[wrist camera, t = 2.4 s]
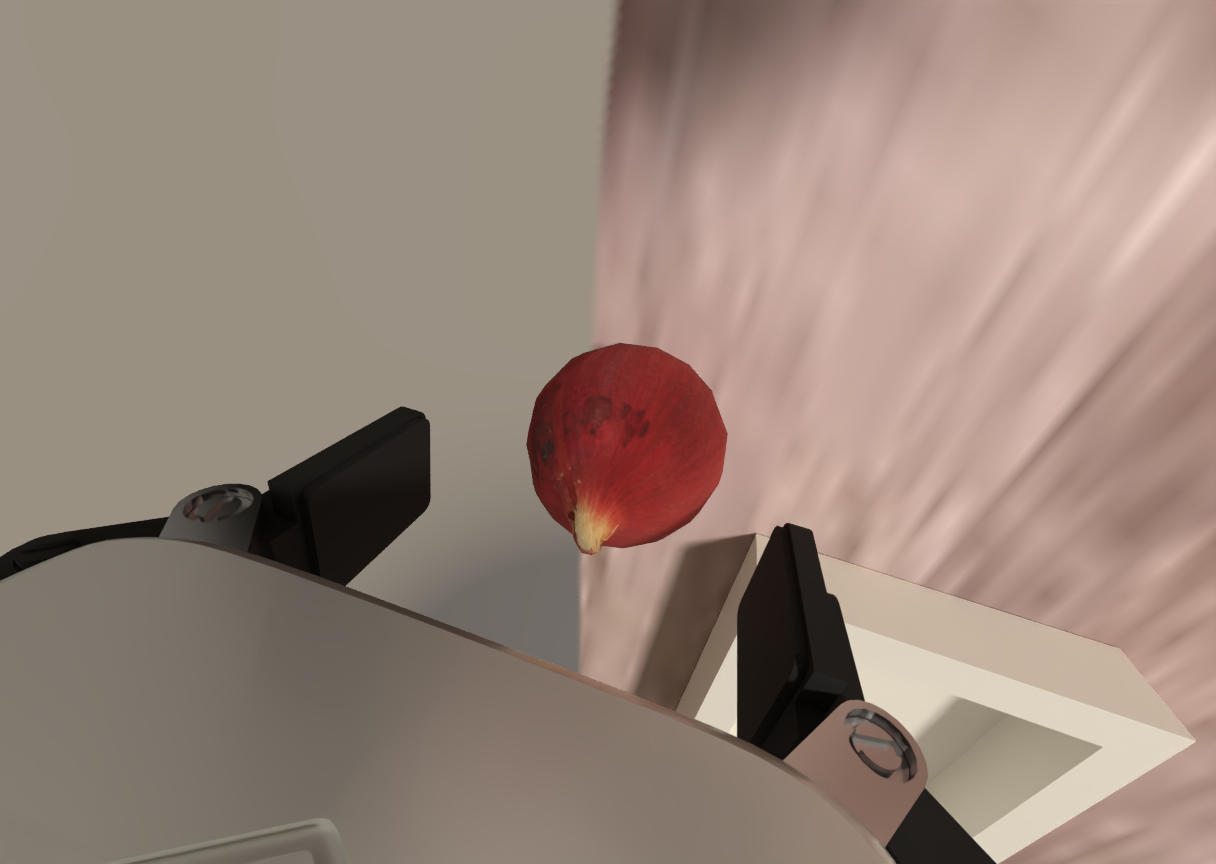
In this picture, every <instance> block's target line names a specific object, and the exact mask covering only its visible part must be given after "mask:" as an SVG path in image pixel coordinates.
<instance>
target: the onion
mask: <svg viewBox="0 0 1216 864" xmlns="http://www.w3.org/2000/svg"><path fill="white" fill-rule="evenodd" d="M727 435H728V434H727V431H726V428H725V426H724V423H723V420H722V418H721V415H720V412H719V410H718V407H717V404H716V402H715V399H714V396H713V393H712V390H711V389H710V388H709V387H708V386H707V385H706V384H705V382H704V381H703V380H702V379H701V378H700V377H699V376H698V374H697V373H696V372H695V371H694V370H693V369H692V368H691V366H690V365H689V364H687V363H685V362H683V361H681V360H679V359H677V358H675V357H674V356H672V355H670V354H668V353H666V352H664V351H662V350H661V349H659V348H655V347H647V346H639V345H631V344H624V343H618V344H614V345H611V346H607V347H604V348H600V349H596V350H593V351H589V352H586V353H583V354H581V355H579V356H577V357H575V358H573V359H571V360H570V361H569V362H568V363H567V364H566V365H565V366H564V367H563V368H562V369H561V370H560V371H559V372H558V373H557V374H556V375H555V376H554V377H553V378H552V379H551V380H550V381H549V382H548V383H547V384H546V385H545V387H544V388H543V390H542V391H541V393H540V394H539V395H538V397H537V399H536V402H535V406H534V410H533V414H532V419H531V423H530V427H529V432H528V439H527V449H528V454H529V459H530V464H531V472H532V479H533V485H534V488H535V491H536V494H537V496H538V497H539V499H540V500H541V502H542V504H543V505H544V507H545V508H546V510H547V511H548V512H549V514H550V515H551V516H552V518H553V519H554V520H555V521H557V522H558V523H559V524H560V525H561V526H563V527H564V528H565V529H566V530H568V531H569V532H570V533H572V534H573V537H574V540H575V542H576V544H577V546H578V548H579V549H580V551H581V553H585V554H590V555H592V554H594V553H597V552H599V551H600V550H601V547H602V546H609V547H618V548H627V547H632V546H637V545H642V544H647V543H652V542H656V541H659V540H661V539H663V538H665V537H667V536H668V535H670V534H671V533H673V532H675V531H676V530H678V529H680V528H681V527H683V526H685V525H686V524H688V523H689V522H691V521H692V520H693V518H694V517H695V516H696V515H697V514H698V513H699V512H700V510H701V509H702V507H703V506H704V504H705V503H706V502H707V500H708V499H709V497H710V496H711V494H712V493H713V491H714V490H715V488H716V487H717V486H718V484H719V481H720V478H721V475H722V472H723V465H724V457H725V450H726V442H727Z"/></svg>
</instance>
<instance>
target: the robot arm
mask: <svg viewBox="0 0 1216 864" xmlns="http://www.w3.org/2000/svg"><path fill="white" fill-rule="evenodd" d="M268 486H269V490H268V491H267V492H265V493H263V494H261V493H260V491H259V490H258V489H257V488H254V487H252V486H250V485H243V484H223V485H218V486H212V487H209V488H205V489H202V490H199V491H197V492H195V493H192V494H190V495H188V496H187V497H185V498H184V499H182V500H181V501H180V502H178V504H177V505H176V506H175V507H174V509H173V510H172V512H171V514H170V516H169V517H164V518H157V519H150V520H144V521H137V522H130V523H124V524H116V525H110V526H103V527H96V528H89V529H83V530H76V531H69V532H63V533H58V534H53V535H47V536H43V537H39V538H36V539H33V540H31V541H29V542H27V543H25V544H23V545H21V546H19V547H16V548H14V549H12V550H10V551H9V552H7V553H6V554H4V555H3V556H1V557H0V864H996V862H995V861H994V860H993V859H992V858H991V857H990V856H989V855H988V854H987V853H986V852H985V851H984V850H983V849H982V848H981V847H980V846H979V844H978V843H977V842H976V841H975V840H974V839H973V838H972V837H971V836H970V835H969V834H968V833H967V832H966V831H965V830H964V829H963V827H962V826H961V825H960V824H959V823H958V822H957V821H956V820H955V819H954V818H953V817H952V816H951V815H950V814H949V813H948V812H947V811H946V809H945V808H944V807H943V806H942V805H941V804H940V803H939V802H938V801H937V800H936V799H935V798H934V797H933V796H932V795H931V794H930V792H929V791H928V790H927V789H926V788H925V785H926V782H927V779H928V771H927V763H926V761H925V758H924V756H923V753H922V751H921V749H920V747H919V746H918V744H917V743H916V741H915V740H914V738H913V737H912V735H911V734H910V733H909V732H908V730H907V729H906V728H905V727H904V726H903V725H902V724H901V723H900V722H899V721H898V720H897V719H895V718H894V717H893V716H892V715H890V714H889V713H888V712H886V711H885V710H883V709H881V708H880V707H878V706H876V705H874V704H872V703H869V702H865V699H864V695H863V691H862V687H861V684H860V680H859V676H858V672H857V669H856V665H855V661H854V657H853V653H852V650H851V646H850V642H849V638H848V634H847V631H846V627H845V623H844V619H843V615H842V612H841V608H840V604H839V601H838V599H837V597H836V596H835V595H833V594H830V593H827V590H826V586H825V582H824V578H823V573H822V569H821V565H820V561H819V557H818V552H817V548H816V544H815V540H814V536H813V532H812V530H810V529H807V528H803V527H800V526H797V525H793V524H790V523H786V524H785V525H784V526H783V527H779V526H776V527H775V528H774V530H773V532H772V534H771V537H770V539H769V541H768V543H767V545H766V547H765V549H764V552H763V554H762V556H761V558H760V560H759V562H758V565H757V567H756V569H755V571H754V573H753V575H752V577H751V580H750V582H749V584H748V586H747V588H746V590H745V592H744V595H743V597H742V599H741V601H740V604H739V607H738V612H737V737H735V736H733V735H731V734H729V733H727V732H724V731H722V730H720V729H718V728H715V727H713V726H711V725H708V724H706V723H703V722H701V721H698V720H696V719H693V718H691V717H688V716H686V715H683V714H681V713H678V712H676V711H673V710H671V709H668V708H666V707H663V706H661V705H658V704H656V703H653V702H651V701H648V700H646V699H643V698H641V697H638V696H636V695H633V694H631V693H628V692H625V691H623V690H620V689H617V688H615V687H612V686H610V685H607V684H604V683H602V682H599V681H596V680H594V679H591V678H589V677H586V676H583V675H581V674H578V673H575V672H573V671H570V670H568V669H565V668H562V667H560V666H557V665H554V664H552V663H549V662H547V661H544V660H541V659H539V658H536V657H534V656H531V655H528V654H525V653H523V652H520V651H517V650H515V649H512V648H510V647H507V646H504V645H502V644H499V643H496V642H494V641H491V640H488V639H486V638H483V637H480V636H478V635H475V634H472V633H470V632H467V631H464V630H462V629H459V628H456V627H454V626H451V625H448V624H445V623H443V622H440V621H438V620H435V619H432V618H430V617H427V616H424V615H422V614H419V613H416V612H414V611H411V610H408V609H406V608H403V607H400V606H397V605H395V604H392V603H389V602H387V601H384V600H381V599H378V598H376V597H373V596H370V595H367V594H365V593H362V592H359V591H357V590H354V589H351V588H349V587H346V585H347V584H348V583H349V582H350V581H351V580H352V579H353V578H354V577H355V576H356V575H358V574H359V573H360V572H361V571H362V570H363V569H364V568H365V567H366V566H367V565H368V564H369V563H370V562H371V561H372V560H373V559H375V558H376V557H377V556H378V555H379V554H380V553H381V552H382V551H383V550H384V549H385V548H386V547H387V546H388V545H389V544H391V543H392V542H393V541H394V540H395V539H396V538H397V537H398V536H399V535H400V534H401V533H402V532H403V531H404V530H405V529H406V528H408V527H409V526H410V525H411V524H412V523H413V522H414V521H415V520H416V519H417V518H418V517H419V516H420V515H421V514H422V513H423V512H424V511H425V510H426V509H427V507H428V505H429V503H430V498H431V497H430V423H429V421H428V420H427V419H426V417H425V415H424V413H422V412H419V411H416V410H412V409H409V408H406V407H400V408H397V409H395V410H394V411H392V412H390V413H388V414H387V415H385V416H383V417H381V418H380V419H378V420H376V421H374V422H372V423H371V424H369V425H367V426H365V427H363V428H362V429H360V430H358V431H356V432H354V433H353V434H351V435H349V436H347V437H346V438H344V439H342V440H340V441H339V442H337V443H335V444H333V445H332V446H330V447H328V448H326V449H324V450H323V451H321V452H319V453H317V454H316V455H314V456H312V457H310V458H309V459H307V460H305V461H303V462H301V463H299V464H298V465H296V466H294V467H292V468H290V469H289V470H287V471H285V472H283V473H282V474H280V475H278V476H276V477H274V478H273V479H271V480H269V481H268Z"/></svg>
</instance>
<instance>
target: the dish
mask: <svg viewBox="0 0 1216 864" xmlns="http://www.w3.org/2000/svg"><path fill="white" fill-rule="evenodd" d="M769 539H770V538H769V537H765V536H762V535H759V534H756V535H755V538H754V540H753V542H752V544H751V546H750V549H749V551H748V553H747V555H746V557H745V560H744V562H743V564H742V566H741V568H740V571H739V573H738V575H737V577H736V579H735V581H734V584H733V586H732V588H731V590H730V592H729V595H728V597H727V599H726V601H725V603H724V606H723V608H722V610H721V612H720V614H719V617H718V619H717V621H716V623H715V625H714V628H713V630H712V632H711V634H710V636H709V639H708V641H707V643H706V645H705V647H704V650H703V652H702V654H701V656H700V658H699V661H698V663H697V665H696V667H695V669H694V671H693V674H692V676H691V678H690V680H689V682H688V685H687V687H686V689H685V691H684V693H683V696H682V698H681V700H680V702H679V704H678V707H677V709H676V712H678V713H681V714H683V715H686V716H688V717H691V718H693V719H696V720H698V721H701V722H703V723H706V724H708V725H711V726H713V727H715V728H718V729H720V730H722V731H724V732H727V733H729V734H731V735H733V736H735V737H737V612H738V607H739V604H740V601H741V599H742V597H743V595H744V592H745V590H746V588H747V586H748V584H749V582H750V580H751V577H752V575H753V573H754V571H755V569H756V567H757V565H758V562H759V560H760V558H761V556H762V554H763V552H764V549H765V547H766V545H767V543H768V541H769ZM818 557H819V561H820V565H821V569H822V573H823V578H824V582H825V586H826V590H827V593H830V594H833V595H835V596H836V597H837V599H838V601H839V604H840V608H841V612H842V615H843V619H844V623H845V627H846V631H847V634H848V638H849V642H850V646H851V650H852V653H853V657H854V661H855V665H856V669H857V672H858V676H859V680H860V684H861V687H862V691H863V695H864V699H865V702H869V703H872V704H874V705H876V706H878V707H880V708H881V709H883V710H885V711H886V712H888V713H889V714H890V715H892V716H893V717H894V718H895V719H897V720H898V721H899V722H900V723H901V724H902V725H903V726H904V727H905V728H906V729H907V730H908V732H909V733H910V734H911V735H912V737H913V738H914V740H915V741H916V743H917V744H918V746H919V747H920V749H921V751H922V753H923V756H924V758H925V761H926V763H927V771H928V779H927V782H926V785H925V788H926V789H927V790H928V791H929V792H930V794H931V795H932V796H933V797H934V798H935V799H936V800H937V801H938V802H939V803H940V804H941V805H942V806H943V807H944V808H945V809H946V811H947V812H948V813H949V814H950V815H951V816H952V817H953V818H954V819H955V820H956V821H957V822H958V823H959V824H960V825H961V826H962V827H963V829H964V830H965V831H966V832H967V833H968V834H969V835H970V836H971V837H972V838H973V839H974V840H975V841H976V842H977V843H978V844H979V846H980V847H981V848H982V849H983V850H984V851H985V852H986V853H987V854H988V855H989V856H990V857H991V858H992V859H993V860H994V861H995V862H996V864H999V863H1000V862H1002V861H1003V860H1005V859H1007V858H1008V857H1010V856H1011V855H1013V854H1015V853H1016V852H1018V851H1020V850H1021V849H1023V848H1024V847H1026V846H1028V845H1029V844H1031V843H1033V842H1034V841H1036V840H1037V839H1039V838H1041V837H1042V836H1044V835H1046V834H1047V833H1049V832H1050V831H1052V830H1054V829H1055V828H1057V827H1058V826H1060V825H1062V824H1063V823H1065V822H1067V821H1068V820H1070V819H1071V818H1073V817H1075V816H1076V815H1078V814H1080V813H1081V812H1083V811H1084V810H1086V809H1088V808H1089V807H1091V806H1093V805H1094V804H1096V803H1097V802H1099V801H1101V800H1102V799H1104V798H1105V797H1107V796H1109V795H1110V794H1112V793H1114V792H1115V791H1117V790H1118V789H1120V788H1122V787H1123V786H1125V785H1127V784H1128V783H1130V782H1131V781H1133V780H1135V779H1136V778H1138V777H1140V776H1141V775H1143V774H1144V773H1146V772H1148V771H1149V770H1151V769H1153V768H1154V767H1156V766H1157V765H1159V764H1161V763H1162V762H1164V761H1165V760H1167V759H1169V758H1170V757H1172V756H1174V755H1175V754H1177V753H1178V752H1180V751H1182V750H1183V749H1185V748H1187V747H1188V746H1190V745H1191V744H1193V743H1195V742H1196V740H1195V739H1194V738H1193V737H1192V735H1191V734H1190V733H1189V732H1188V731H1187V729H1186V728H1185V727H1184V726H1183V724H1182V723H1181V722H1180V721H1179V720H1178V718H1177V717H1176V716H1175V715H1174V714H1173V712H1172V711H1171V710H1170V709H1169V708H1168V706H1167V705H1166V704H1165V703H1164V702H1163V700H1162V699H1161V698H1160V697H1159V696H1158V694H1157V693H1156V692H1155V691H1154V689H1153V688H1152V687H1151V686H1150V685H1149V683H1148V682H1147V681H1146V680H1145V679H1144V677H1143V676H1142V675H1141V674H1140V673H1139V671H1138V670H1137V669H1136V668H1135V667H1134V665H1133V664H1132V663H1131V662H1130V661H1129V659H1128V658H1127V657H1126V656H1125V655H1124V653H1123V652H1122V651H1121V650H1120V649H1119V648H1116V647H1113V646H1110V645H1107V644H1103V643H1100V642H1097V641H1094V640H1091V639H1088V638H1084V637H1081V636H1078V635H1075V634H1072V633H1069V632H1065V631H1062V630H1059V629H1056V628H1053V627H1050V626H1047V625H1043V624H1040V623H1037V622H1034V621H1031V620H1028V619H1024V618H1021V617H1018V616H1015V615H1012V614H1009V613H1005V612H1002V611H999V610H996V609H993V608H990V607H987V606H983V605H980V604H977V603H974V602H971V601H968V600H964V599H961V598H958V597H955V596H952V595H949V594H945V593H942V592H939V591H936V590H933V589H930V588H926V587H923V586H920V585H917V584H914V583H911V582H908V581H904V580H901V579H898V578H895V577H892V576H889V575H885V574H882V573H879V572H876V571H873V570H870V569H866V568H863V567H860V566H857V565H854V564H851V563H848V562H844V561H841V560H838V559H835V558H832V557H829V556H825V555H822V554H819V553H818Z"/></svg>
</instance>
